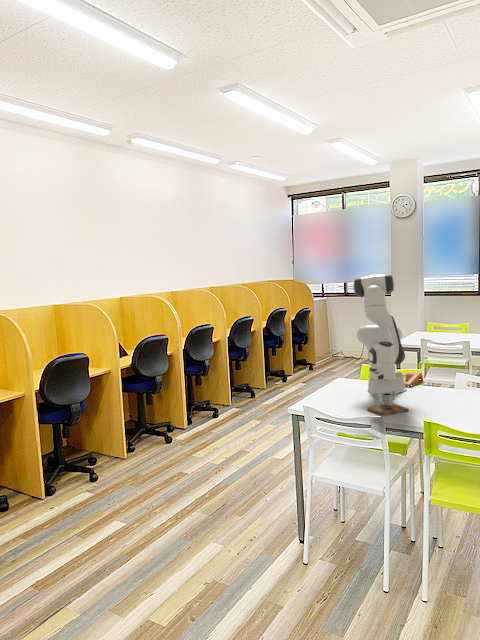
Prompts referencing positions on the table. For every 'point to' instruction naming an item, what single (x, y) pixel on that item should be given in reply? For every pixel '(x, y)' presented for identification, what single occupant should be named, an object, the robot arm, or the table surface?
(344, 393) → the table surface
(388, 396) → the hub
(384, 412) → the stand
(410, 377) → the crank
